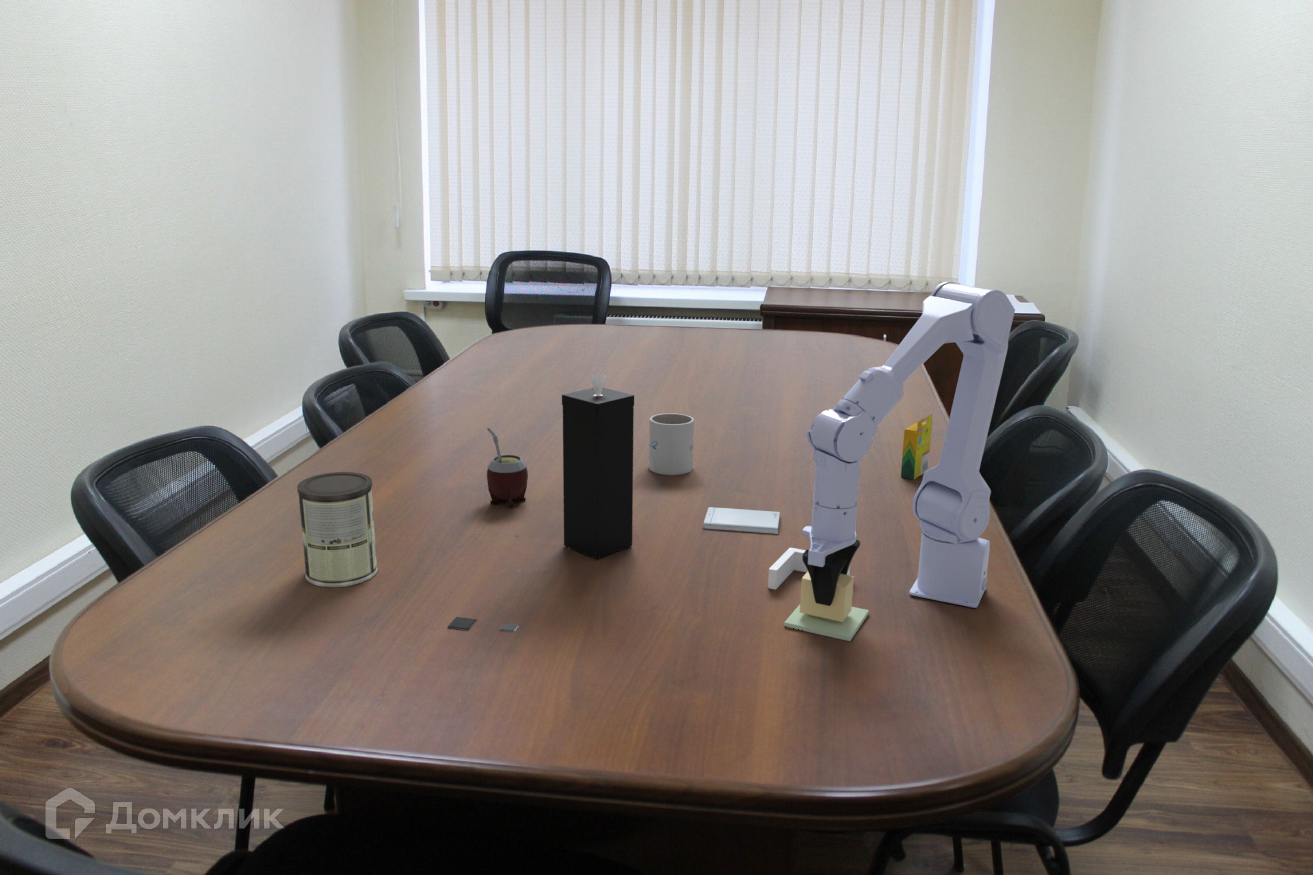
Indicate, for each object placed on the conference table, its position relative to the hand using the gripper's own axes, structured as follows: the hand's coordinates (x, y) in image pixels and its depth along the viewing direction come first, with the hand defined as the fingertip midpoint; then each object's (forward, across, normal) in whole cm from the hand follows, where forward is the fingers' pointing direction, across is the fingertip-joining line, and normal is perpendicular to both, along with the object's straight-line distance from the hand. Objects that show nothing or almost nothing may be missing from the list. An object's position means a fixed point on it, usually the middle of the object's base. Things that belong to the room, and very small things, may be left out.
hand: (828, 597), depth 138 cm
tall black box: (+4, -8, -40) cm, 41 cm away
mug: (+4, -52, -48) cm, 71 cm away
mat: (+3, 0, 0) cm, 3 cm away
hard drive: (+4, -29, -24) cm, 38 cm away
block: (+2, 0, 0) cm, 2 cm away
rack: (+3, -11, -6) cm, 13 cm away
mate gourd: (+4, -18, -64) cm, 67 cm away
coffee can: (+4, +19, -68) cm, 71 cm away
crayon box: (+4, -70, -4) cm, 70 cm away
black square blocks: (+4, +24, -42) cm, 49 cm away
